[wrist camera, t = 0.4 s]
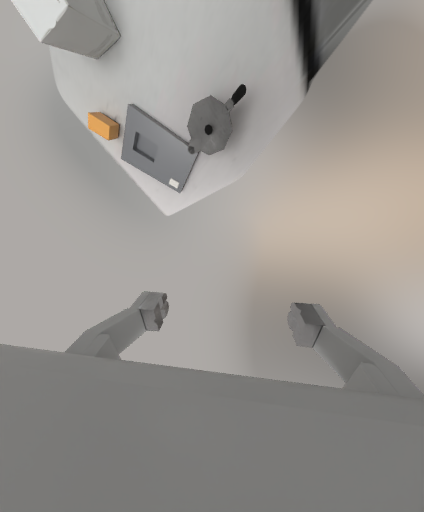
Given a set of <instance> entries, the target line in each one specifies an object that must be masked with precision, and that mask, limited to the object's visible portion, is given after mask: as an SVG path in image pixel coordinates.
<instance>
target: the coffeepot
mask: <svg viewBox="0 0 424 512" xmlns="http://www.w3.org/2000/svg"><path fill="white" fill-rule="evenodd" d="M245 93H246V86H245V85H244V84H242V85H240V86H239V87H238V89H237V90H236V91H235V93H234V94H233V95H232V98H231V99H229V100H228V101H227V102H226V103H225V105H224V104H223V103H221V102H220V101H218V100H217V99H216V98H214V97H213V96H209V97H207V98H205V99H203V100H201V101H199V102H197V103H195V104H193V108H192V111H191V115H190V119H189V122H188V126H187V127H188V130H189V133H190V136H191V140H190V143H189V146H188V152H189V153H190V154H192V155H193V154H195V153H197V152H199V151H202V152H204V153H206V154H208V155H211V154H213V153H216V152H218V151H221V150H223V149H224V148H225V146H226V144H227V141H228V139H229V137H230V135H231V132H232V126H231V121H230V115H229V112H230V111H231V109H232V108H233V107H234V105H235V104H236V103H237V102H238V101H239V100H240V99H241V98H242V97H243V96H244V95H245Z"/></svg>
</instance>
